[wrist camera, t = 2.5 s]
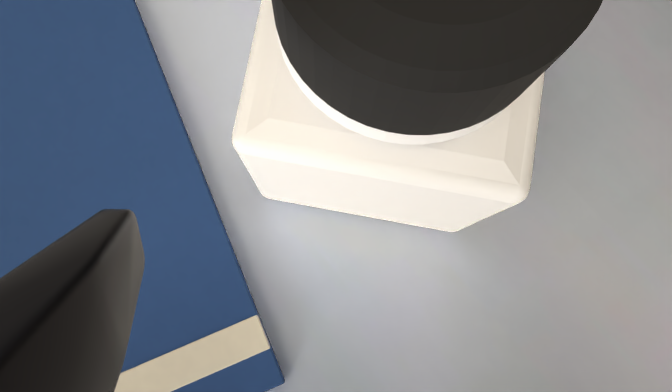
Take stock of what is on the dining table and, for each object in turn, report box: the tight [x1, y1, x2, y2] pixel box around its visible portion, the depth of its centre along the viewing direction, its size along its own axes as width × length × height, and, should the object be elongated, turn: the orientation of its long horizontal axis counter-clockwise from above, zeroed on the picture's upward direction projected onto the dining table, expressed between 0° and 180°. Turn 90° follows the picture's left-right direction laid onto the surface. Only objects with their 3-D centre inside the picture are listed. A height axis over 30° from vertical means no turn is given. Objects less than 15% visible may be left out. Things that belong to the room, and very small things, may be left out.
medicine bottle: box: [232, 0, 603, 232], centre depth 15 cm, size 7×7×12 cm
